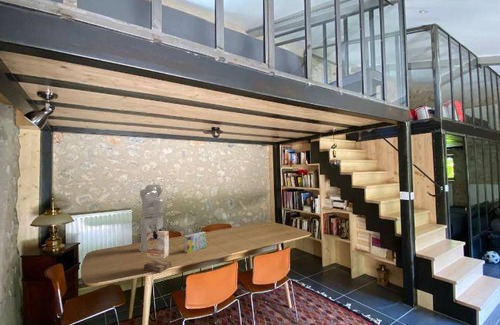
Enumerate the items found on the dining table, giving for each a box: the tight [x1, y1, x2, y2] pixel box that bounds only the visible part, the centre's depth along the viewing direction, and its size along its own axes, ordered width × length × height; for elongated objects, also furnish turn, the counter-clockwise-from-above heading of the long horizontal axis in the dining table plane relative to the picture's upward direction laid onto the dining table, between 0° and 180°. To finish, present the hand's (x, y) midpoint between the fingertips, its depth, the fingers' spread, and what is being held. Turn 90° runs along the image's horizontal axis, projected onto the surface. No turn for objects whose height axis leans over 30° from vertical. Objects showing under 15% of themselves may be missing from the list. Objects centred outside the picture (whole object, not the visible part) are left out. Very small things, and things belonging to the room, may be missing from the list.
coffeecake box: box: [146, 230, 170, 259], centre depth 189 cm, size 15×7×20 cm, turn 81°
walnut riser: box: [143, 258, 172, 274], centre depth 189 cm, size 12×16×4 cm
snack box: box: [183, 231, 207, 254], centre depth 230 cm, size 21×6×15 cm, turn 135°
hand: (157, 237), depth 189 cm, fingers closed on coffeecake box, 7 cm apart
